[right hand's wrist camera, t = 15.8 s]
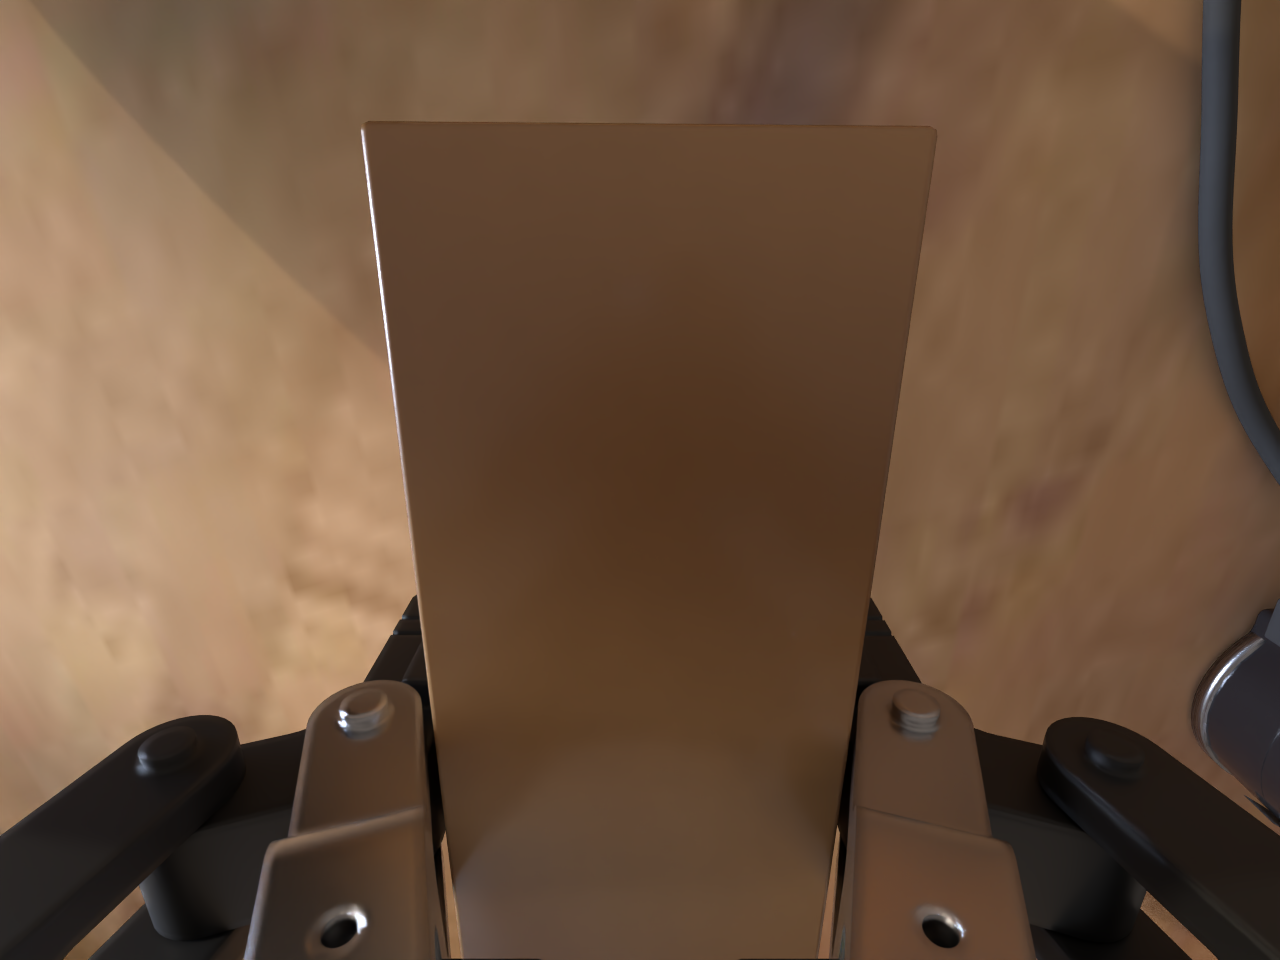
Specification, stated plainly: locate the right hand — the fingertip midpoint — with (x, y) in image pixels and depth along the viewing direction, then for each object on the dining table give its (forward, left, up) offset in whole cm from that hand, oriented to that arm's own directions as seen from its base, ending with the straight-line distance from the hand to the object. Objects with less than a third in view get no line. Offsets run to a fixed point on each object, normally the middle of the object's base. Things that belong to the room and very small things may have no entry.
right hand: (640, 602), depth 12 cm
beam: (+30, 0, -4) cm, 31 cm away
